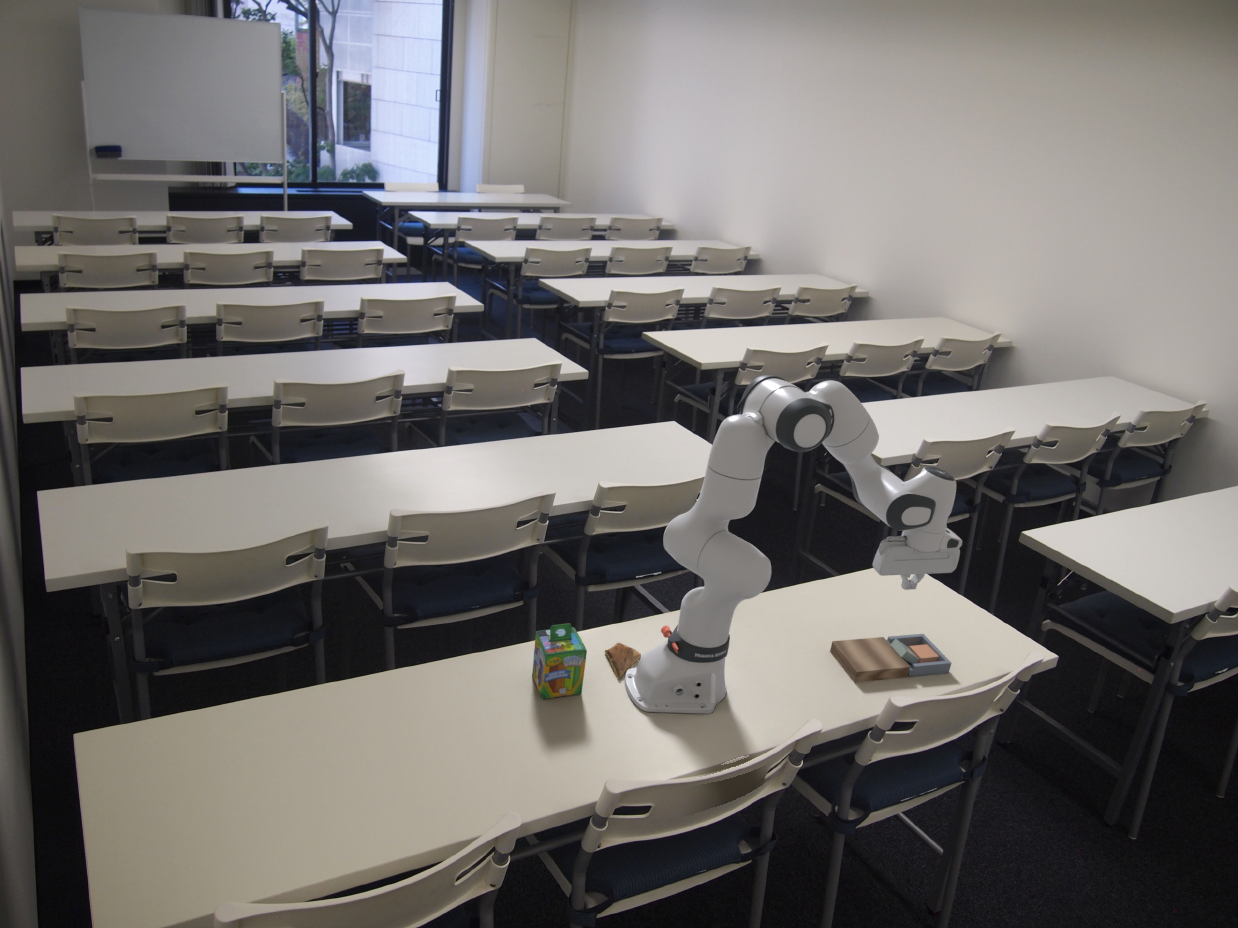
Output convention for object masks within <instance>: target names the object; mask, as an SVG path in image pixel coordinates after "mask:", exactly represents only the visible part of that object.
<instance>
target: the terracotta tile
mask: <svg viewBox="0 0 1238 928" xmlns="http://www.w3.org/2000/svg"><path fill="white" fill-rule="evenodd" d="M909 649H910V650H911V651H912V652H913V653H914V654H915V655H916V656H917V657H918V658H919V660H918V661H917V663H927V662H937V661H938V658H939V656H938V655H937V654H936V653H935V652H934V651H933V650H932V649H931V648H930V647H929V646H928V645H927V644H925V645H914V646H909Z"/></svg>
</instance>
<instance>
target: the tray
mask: <svg viewBox="0 0 1238 928" xmlns="http://www.w3.org/2000/svg"><path fill="white" fill-rule="evenodd" d="M895 639H897V640H898V641H900V642H901V643H903V644H904V645H906V646H907V647H909V646H914V645H925V644H927V645H928V646H929V647H930V648H931V649H932V650H933V651H934V652H935V653H936V654H937V655H938V656H939V658H938V661H937V662H927V663H917V662H916V664H911V663H909V662H908V661H906V660H905V659H904V661H905V662H906V663H907V664H908V665H909V666H910V669H909V673H908V676H907V678H914V677H916V678H917V677H925V676H933V675H937V676H938V675H946V674H949V672H950V670H951V666H952V662H951V661H950V660H949V658H947V657H946V655H945V654H944V653H943V652H942V651H940V649H939V648H938V646H936V645H935V644H934V643H933V642H932V641H931V640H930V639H929V638H928V637H927V636H926V635H925V634H924V633H915V634H913V633H912V634H905V635H904V634H903V635H894V636H893V635H891V636H889V635H888V637H887V639H886V640H887V642H888V643H889V644H891V643H892V642H893V641H894V640H895Z"/></svg>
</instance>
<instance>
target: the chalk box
mask: <svg viewBox="0 0 1238 928" xmlns="http://www.w3.org/2000/svg"><path fill="white" fill-rule="evenodd" d="M534 639H535V640H534V649H533V662H532V675H531V676H532V677H533V680H534V683H535V686H536V687H537V691H538V692H539V695H540V697H541V699H542V700H546V699H553V698H559V697H567V696H573V695H574V696H575V695H581V694H582V691H583V684H584V677H585V668H586V661H587V653H588V650H587V648H586V646H585V644H584V643H583V641H582V638H581V636H580V635H579V632H577V629H576V628H575V627H573V626H572V624H571V623H569V622H568V623H559V624H552V625H551V626H550V629H542V630H536V631H535V637H534Z"/></svg>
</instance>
